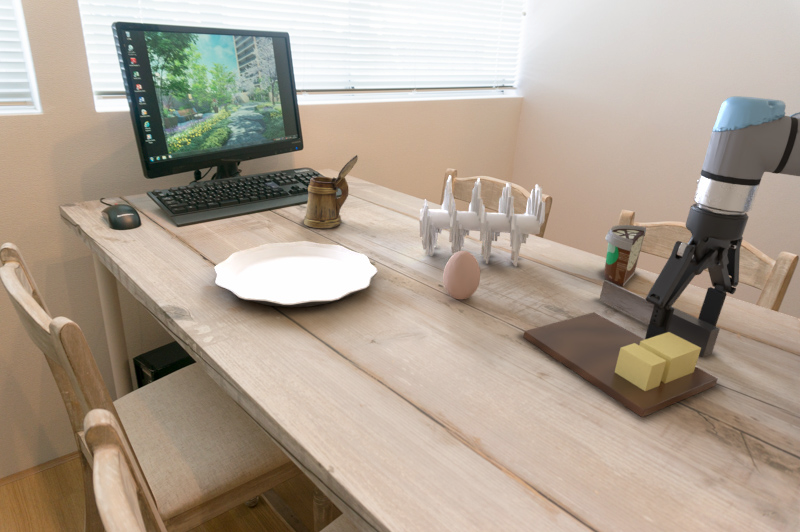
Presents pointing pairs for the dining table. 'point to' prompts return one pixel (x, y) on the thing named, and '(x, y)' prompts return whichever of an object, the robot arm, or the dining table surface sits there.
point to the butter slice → (640, 366)
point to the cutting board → (610, 361)
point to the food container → (623, 252)
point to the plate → (295, 273)
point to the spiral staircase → (482, 220)
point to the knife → (680, 322)
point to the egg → (461, 275)
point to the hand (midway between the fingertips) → (680, 334)
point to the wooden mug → (327, 198)
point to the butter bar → (673, 355)
